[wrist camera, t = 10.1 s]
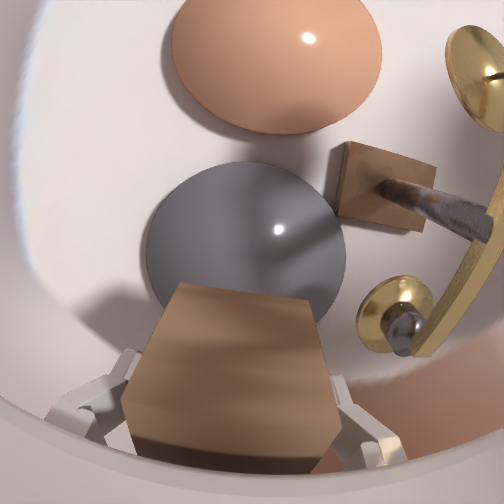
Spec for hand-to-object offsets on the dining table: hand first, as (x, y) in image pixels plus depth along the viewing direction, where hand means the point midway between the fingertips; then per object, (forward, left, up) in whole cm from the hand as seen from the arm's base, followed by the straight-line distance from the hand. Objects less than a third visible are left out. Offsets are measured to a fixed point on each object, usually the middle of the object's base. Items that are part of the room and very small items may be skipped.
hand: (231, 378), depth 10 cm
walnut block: (0, 0, -2) cm, 2 cm away
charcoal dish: (0, 0, -12) cm, 12 cm away
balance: (-9, -7, -12) cm, 16 cm away
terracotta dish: (0, -16, -12) cm, 20 cm away
